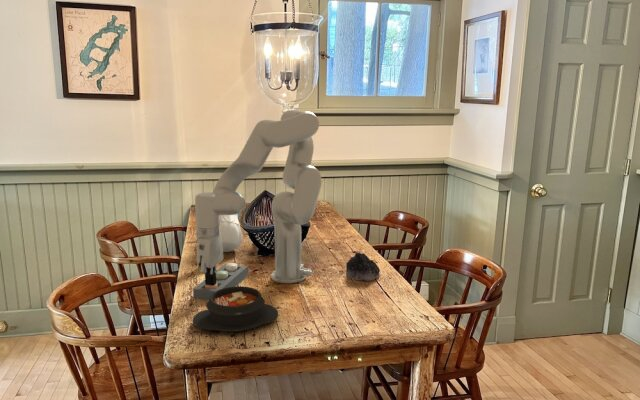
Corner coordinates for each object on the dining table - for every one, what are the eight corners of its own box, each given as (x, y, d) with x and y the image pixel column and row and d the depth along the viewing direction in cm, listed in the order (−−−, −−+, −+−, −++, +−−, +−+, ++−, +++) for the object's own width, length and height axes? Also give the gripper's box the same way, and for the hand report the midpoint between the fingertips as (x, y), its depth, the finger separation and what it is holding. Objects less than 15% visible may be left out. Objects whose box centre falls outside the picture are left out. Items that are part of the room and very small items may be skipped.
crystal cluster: (371, 268, 195) (369, 243, 193) (387, 278, 182) (385, 251, 180) (339, 275, 191) (337, 250, 189) (353, 285, 178) (351, 258, 176)
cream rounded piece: (239, 270, 184) (239, 263, 183) (234, 274, 180) (234, 267, 179) (229, 269, 185) (228, 262, 184) (224, 273, 181) (224, 266, 180)
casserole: (193, 342, 138) (192, 314, 136) (192, 313, 155) (190, 287, 153) (284, 331, 144) (283, 304, 142) (272, 304, 162) (272, 279, 160)
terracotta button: (219, 289, 169) (219, 282, 168) (214, 294, 165) (214, 287, 165) (209, 288, 170) (208, 281, 169) (203, 293, 166) (202, 285, 166)
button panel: (248, 275, 186) (247, 266, 185) (218, 301, 163) (218, 291, 162) (225, 272, 188) (225, 263, 187) (193, 298, 165) (193, 288, 165)
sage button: (229, 278, 176) (229, 271, 176) (224, 282, 173) (224, 275, 172) (219, 277, 177) (219, 270, 177) (214, 281, 174) (213, 274, 173)
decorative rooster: (243, 244, 200) (249, 188, 211) (203, 239, 196) (210, 182, 207) (235, 263, 222) (241, 211, 232) (199, 258, 218) (206, 206, 229)
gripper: (208, 238, 155) (210, 294, 159) (229, 225, 169) (230, 277, 173) (186, 236, 157) (189, 291, 161) (208, 224, 171) (210, 275, 175)
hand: (210, 284), depth 167 cm, fingers closed
